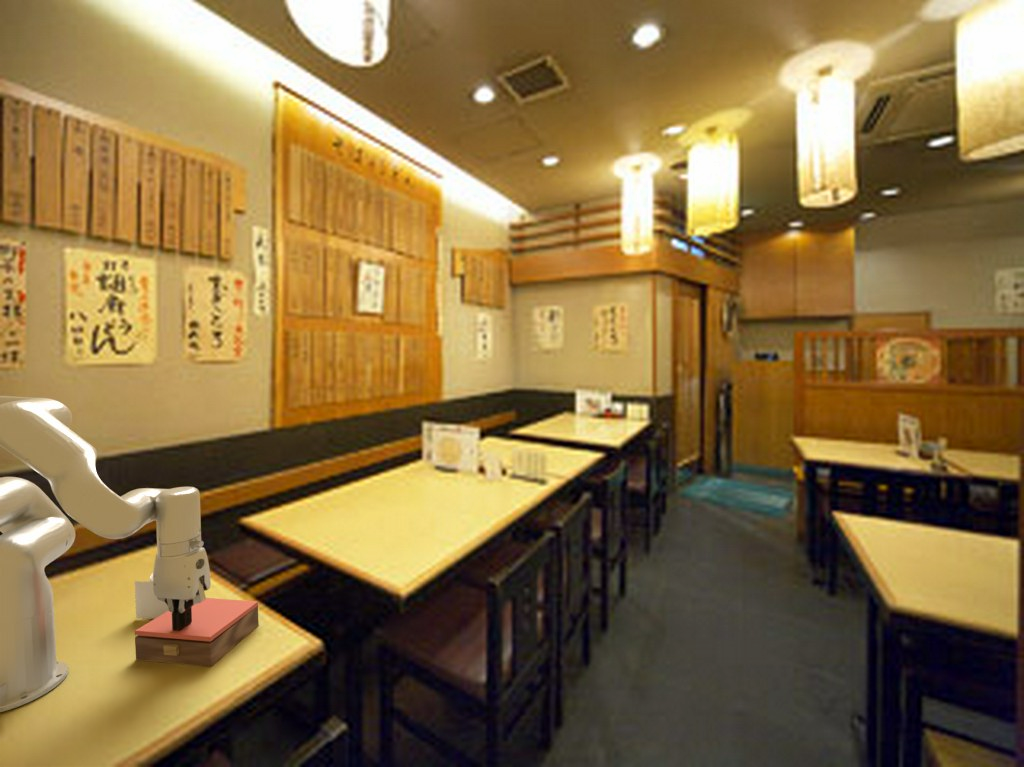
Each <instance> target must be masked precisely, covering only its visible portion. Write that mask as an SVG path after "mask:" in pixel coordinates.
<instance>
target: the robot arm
mask: <svg viewBox="0 0 1024 767" xmlns="http://www.w3.org/2000/svg"><path fill="white" fill-rule="evenodd" d="M72 422H73V415H72V412H71V410H70V409H69V408H68V406H66V404H64V403H62V402H60V401H58V400H56V399H52V398H47V397H31V396H29V397H28V396H14V395H13V396H10V395H0V447H1V448H3V449H4V450H6V451H7V452H8V453H10V454H11V455H13V456H14V457H15V458H17V459H18V460H20V461H21V462H22V463H24V464H25V465H26V466H27V467H29V468H31V469H32V470H33V471H35V472H36V473H38V474H39V475H40V476H42V477H43V478H44V479H46V480H47V481H48V483H49V486H50V488H51V491H52V493H53V495H54V497H55V499H56V501H57V503H58V504H59V505H60V507H61V509H62V510H63V511H64V512H65V514H67V515H68V516H69V517H71V519H73V520H74V521H75V522H77V523H78V524H80V525H81V526H83V527H84V528H86V529H87V530H89V531H90V532H92V533H93V534H96V535H98V536H99V537H102V538H104V539H109V540H118V539H125V538H127V537H130V536H132V535H134V534H135V533H136V532H138V531H139V530H140V529H141V528H143V527H144V526H146V525H147V524H149V523H152V522H154V521H156V527H155V528H156V550H157V553H156V554H155V558H154V565H153V570H152V571H153V572H152V573H153V590H154V595H155V596H157V599H158V600H160V601H163V602H165V603H166V604H167V605H168V609H169V611H170V612H172V630H177V631H180V630H182V629H183V628H185V627H186V626H188V625H189V624H190V623H191V622H192V609H191V607H192V606H193V605H194V604H198V603H201V602H202V601H204V600H205V599H206V598H207V597H206V594H205V593H206V591H209V590H210V589H211V582H212V581H211V572H210V571H211V570H210V564H209V563H210V562H209V558H208V555H207V551H206V549H205V547H203V546H204V543H205V542H204V541H203V540H202V530H201V529H202V527H201V526H202V525H201V524H202V522H201V520H202V519H201V493H200V490H199V489H198V488H196V487H194V486H179V487H178V486H177V487H173V488H152V487H151V488H150V487H145V488H143V487H142V488H141V487H140V488H136V489H133V490H130V491H128V492H126V493H125V494H123V495H121V496H120V495H118V494H117V493H116V492H114V491H113V490H112V489H110V487H108V486H107V484H105V483H104V482H103V480H101V478H100V477H99V474H98V473H97V469H96V465H97V464H96V463H97V459H98V458H97V457H98V451H97V449H96V447H94V446H93V445H92V444H90V443H89V442H88V441H87V440H85V439H84V438H82V437H81V436H80V435H79V434H77V433H76V432H74V431H73V430H72V429H70V426H71V424H72ZM61 509H60V508H59V507H58V505H56V504H55V503H54V502H53V501H52V500H51V499H50V497H49V496H48V495H47V494H46V493H45V492H44V491H43V490H42V489H41V488H40V487H39V486H38V485H36V484H35V483H34V482H32V481H30V480H28V479H25V478H21V477H16V476H3V477H0V532H1V533H2V534H0V713H3V712H6V711H11V710H13V709H16V708H18V707H21V706H23V705H25V704H28V703H31V702H33V701H34V700H37V699H39V698H40V697H43V696H44V695H46V694H48V693H49V692H50V691H52V690H53V689H55V688H56V687H57V686H58V685H60V684H61V683H62V682H63V681H65V679H66V677H67V675H68V673H69V666H68V664H67V663H66V662H63V661H59V660H57V645H56V644H57V643H56V641H57V640H56V627H55V626H56V624H55V622H56V621H55V608H54V607H55V606H54V593H53V588H52V584H51V582H50V580H49V579H48V577H47V575H46V572H45V568H46V566H48V565H49V564H50V563H52V562H54V561H55V560H56V559H58V558H59V557H61V556H62V555H63V554H65V553H66V552H67V551H68V550H70V548H71V547H72V546H73V544H74V542H75V539H76V530H75V529H76V528H74V526H73V523H72V522H71V521H70V519H69V518H68V517H67V516H66V515H65V514H64V513H63V512H62V510H61ZM187 600H188V601H187ZM186 601H187V602H186Z"/></svg>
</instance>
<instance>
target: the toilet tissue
mask: <svg viewBox="0 0 1024 767" xmlns="http://www.w3.org/2000/svg"><path fill="white" fill-rule="evenodd" d="M149 575H150V576H149V581H138V580H134V593H135V594H134V596H135V597H134V598H135V600H134V601H135V614H136V615H135V617H136V618H138V619H142V620H144V619H155V618H157V617H159V616H160V615H162V614H164V613H165V612H167V611H169V609H168V605H167V604H166V603H165V602H163V601H160V600H158V599H157V596H155V595H154V590H153V572H152V573H151V574H149Z"/></svg>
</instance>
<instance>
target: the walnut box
mask: <svg viewBox="0 0 1024 767" xmlns="http://www.w3.org/2000/svg"><path fill="white" fill-rule="evenodd" d="M259 624H260V623H259V605H258V606H257V607H256V608H254V609H253V610H252V611H250V612H249V613H248V614H246V615H245V616H244V617H242V618H241V619H240V620H238V621H237V622H236V623H234V624H233V625H232V626H230V627H229V628H228V629H226V630H225V631H224V632H222V633H221V634H220V635H218V636H217V637H216V638H214V639H213V640H212V641H211V642H209V641H197V640H186V639H174V638H162V637H150V636H139V635H136V636H135V637H134V640H135V643H134V644H135V660H136V661H145V662H146V661H148V662H156V663H157V662H158V663H166V664H177V665H178V664H179V665H189V666H201V667H211V668H212V667H213V666H214V665H215V664H216V663H217V662H218V661H219V660H221V659H222V658H223V657H224V656H225V655H226V654H228V653H229V652H230V651H232V649H234V647H236V646H237V645H238V644H239V643H240V642H241V641H242V640H243V639H245V638H246V637H247V636H249V634H251V633H252V632H253V631H254V630H256V628H258V627H259V626H260V625H259Z"/></svg>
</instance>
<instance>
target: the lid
mask: <svg viewBox="0 0 1024 767" xmlns="http://www.w3.org/2000/svg"><path fill="white" fill-rule="evenodd" d="M187 601H188V600H187ZM187 601H186V602H187ZM257 606H258V607H259V602H258V601H257V600H256V601H255V600H254V601H253V600H241V599H240V600H239V599H230V598H229V599H227V598H216V597H214V598H213V597H211V598H210V597H206V599H205V600H204V601H202V602H201V603H198V604H194V605H193V606H192V607H191V609H192V622H191V623H190V624H189V625H188V626H186V627H185V628H183V629H182V630H180V631H177V630H172V612H170V611H167V612H165V613H164V614H162V615H160V616H159V617H157V618H153V619H152V620H151V621H149V622H147V623H145V624H143V625H142V626H141V627H139V628H137V629H135V630H134V636H138V635H139V636H150V637H162V638H174V639H186V640H197V641H209V642H211V641H212V640H213V639H214V638H216V637H217V636H218V635H220V634H221V633H222V632H224V631H225V630H226V629H228V628H229V627H230V626H232V625H233V624H234V623H236V622H237V621H238V620H240V619H241V618H242V617H244V616H245V615H246V614H248V613H249V612H250V611H252V610H253V609H254V608H256V607H257Z"/></svg>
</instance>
